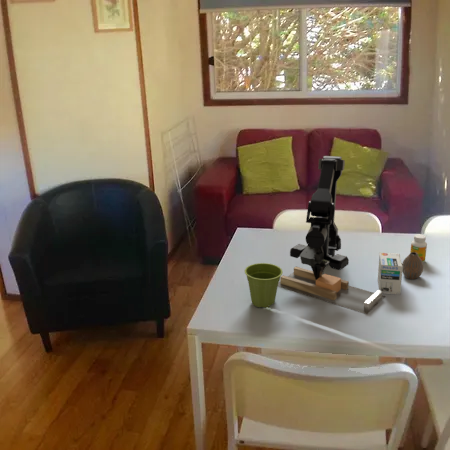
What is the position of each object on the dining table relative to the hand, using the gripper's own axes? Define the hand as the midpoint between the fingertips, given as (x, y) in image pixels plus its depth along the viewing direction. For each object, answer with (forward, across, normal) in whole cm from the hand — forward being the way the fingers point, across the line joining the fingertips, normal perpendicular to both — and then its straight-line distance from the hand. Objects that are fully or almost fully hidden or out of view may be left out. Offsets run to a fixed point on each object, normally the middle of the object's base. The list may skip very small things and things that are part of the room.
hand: (317, 280), depth 177 cm
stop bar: (+2, +20, 0) cm, 20 cm away
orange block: (+3, +4, 0) cm, 5 cm away
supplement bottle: (+3, +18, +41) cm, 45 cm away
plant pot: (+4, -9, -18) cm, 21 cm away
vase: (+3, +21, +27) cm, 35 cm away
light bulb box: (+4, +19, +14) cm, 24 cm away
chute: (+3, +4, 0) cm, 5 cm away
